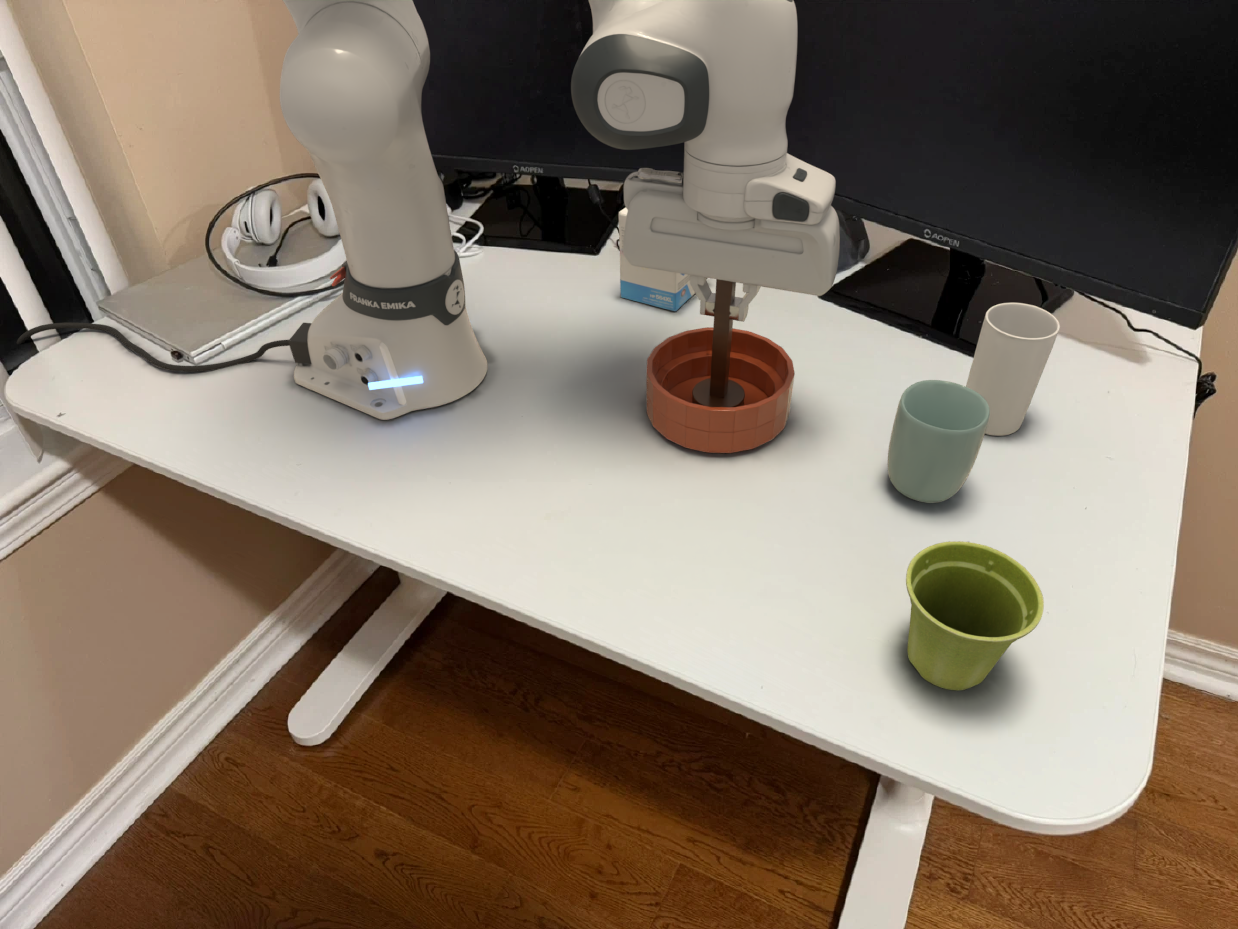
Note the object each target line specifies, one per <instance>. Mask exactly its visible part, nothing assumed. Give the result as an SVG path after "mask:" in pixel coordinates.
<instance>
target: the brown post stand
mask: <svg viewBox="0 0 1238 929" xmlns="http://www.w3.org/2000/svg"><path fill="white" fill-rule="evenodd" d="M736 286H737V283H736V282H730V281H724V280H718V279H715V292H714V293H715V310H714V317H713V343H712V360H711V377H710V378H708V379H705V380H702V381H700V382H699V383H697V384H696V385H695V386H694V388H693V391H692V403H693V404H698V405H703V406H708V407H739V406H744V399H745V392H744V389H743V388H742V386H741V385H739V384H738V383H737V382H735V381H733V380H730V379H729V366H730V353H731V340H732V328H733V325H734V320H731V319H729V315H730V305H731V303H732V302H733V300H734V298H735V297H736V288H737V287H736Z"/></svg>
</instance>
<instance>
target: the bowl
mask: <svg viewBox="0 0 1238 929" xmlns="http://www.w3.org/2000/svg"><path fill="white" fill-rule="evenodd" d="M713 327H714V326H713ZM713 327H711V326H709V327H707V326H706V327H699V328H694V329H690V330H684V331H681V332H679V333H676V334H674V335H671V336H669V337H667V338H666V339H664V340H663V341H661V342H660V343H659V344H657V345H655V347H653V349H652V351H651V353H650V354H649V356H648V357H647V358H646V372H645V373H646V374H645V375H646V377H645V378H646V382H645V383H646V415H647V417H648V419H649V421H650V423H651V425H652V427H653V428H654V429H655V430H656V431H657V432H658V433H660V434H661V436H663V437H664V438H665V439H666V440H669V441H671V442H673V443H675V444H677V445H679V446H681V447H683V448H686V449H689V450H693V451H699V452H703V453H708V454H709V453H714V454H725V453H726V454H732V453H733V454H734V453H739V452H744V451H748V450H749V451H750V450H753V449H756V448H758V447H760V446H762V445H764V444H766V443H769V442H772V441H773V440H774V439H775V438H776V437H777V436H778V435H779V434H780V433H781V432H782V431H783V430H784V429H785V427H786V424H787V422H788V419H789V417H790V412H791V405H792V397H793V388H794V381H795V375H796V374H795V367H794V362H793V359H792V358H791V357H790V356H789V354H788V353H787V351H786V350H785V349H784V348H783V347H782V346H780V345H779V344H777V343H776V342H775V341H773V340H772V339H770V338H768V337H766V336H763V335H760V334H758V333H755V332H753V331H749V330H743V329H740V328H739V329H738V328H732V340H731V353H730V366H729V379H730V380H733V381H735V382H737V383H738V384H739V385H741V386H742V388H743V389H744V392H745V399H744V406H739V407H708V406H703V405H698V404H693V403H692V391H693V388H694V386H695V385H696V384H697V383H699V382H700V381H702V380H705V379H708V378H710V377H711V360H712V343H713Z"/></svg>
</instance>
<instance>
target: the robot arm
mask: <svg viewBox="0 0 1238 929" xmlns="http://www.w3.org/2000/svg"><path fill="white" fill-rule="evenodd" d="M282 2H283V3H284V5H285V7H286V9H287V11H288V12H289V15H290V16H291V18H292V20H293V22H294V24H295V27H296V32H297V36H296V37H295V38H294V39H293V40H292V42H291V43H290V45H289V46H288V48H287V50H286V52H285V55H284V58H283V62H282V65H281V66H282V67H281V73H280V80H279V104H280V110H281V114H282V116H283V119H284V121H285V124H286V125H287V127H288V129H289V131H290V133H291V134H292V135H293V137H294V138H295V139H296V140H297V141H298V143H299V144H300V145H301V146H302V147H303V148H304V149H305V150H306V151H307V153H308V156H309V158H310V160H311V162H312V164H313V166H314V168H315V170H316V172H317V174H318V176H319V178H320V180H321V182H322V185H323V187H324V189H325V191H326V194H327V196H328V199H329V202H330V204H331V207H332V210H333V214H334V218H335V221H336V225H337V229H338V233H339V236H340V240H341V244H342V248H343V251H344V255H345V259H346V260H345V261H344V262H343V263H342V264H341V268H339V269H338V270H337V271H336V272H334V273H333V274H332V275H331V276H330V277H329V280H333V279H334V280H333V281H332V282H331V286H332V287H336V286H337V285H338V284H339V283H341V282H342V281H343V288H342V293H340V294H339V295H338V296H337V297H336V298H334V299H333V300H332V301H331V302H330V303H329V304H328V305H327V306H326V307H325V308H323V309H322V310H321V311H320V312H319V313H318V314H317V315H316V316H315V318H314V319H313V321H312V322H302V323H301V325H300V326H299V327H298V328H297V329H296V331H294V333H293V334H292V335H291V336H290V338H289V339H280V340H274V341H270V342H267V343H265V344H262V345H261V346H260V347H259V349H257V351H256V352H254V353H251V354H249V355H246V356H245V355H244V356H242V357H239V358H236V359H231V360H227V361H223V362H218V363H211V364H202V365H200V364H199V365H181V364H172V363H168V362H167V363H166V362H164V361H161V360H159V359H157V358H156V357H154V356H153V355H151V354H150V353H149V352H148V351H146V350H145V349H143V348H142V347H140V346H138V345H137V344H135V343H133V342H132V341H130V340H129V339H128V338H127V337H126V336H125V335H123V333H122V332H120V331H119V330H118V329H116V328H114V327H113V326H111V325H110V326H109V325H106V324H100V323H90V322H54V323H47V324H41V325H38V326H34V327H32V328H30V329H28V330H27V331H25V332H24V333H23V334H21V335H20V336H19V337H18V339H17V340H16V344H17V345H21V344H24V343H25V342H26V341H27V340H28V339H30V338H31V337H32V336H34V335H36V334H39V333H41V332H45V331H50V330H59V329H86V330H98V331H104V332H107V333H110V334H112V335H114V336H115V338H117V339H118V340H119V341H120V342H121V343H122V344H123V345H124V346H126V347H127V348H128V349H130V350H132V351H133V352H135V353H137V354H138V355H140V356H141V357H143V358H144V360H146V361H148V362H149V363H150V364H152V365H154V366H155V367H158V368H160V369H163V370H167V371H172V372H186V373H187V372H189V373H191V372H193V373H194V372H195V373H196V372H197V373H198V372H208V371H215V370H220V369H226V368H228V367H229V368H230V367H232V366H233V367H234V366H238V365H242V364H246V363H250V362H251V361H256V360H258V359H260V358H261V357H263V356H264V354H265V353H266V352H267V351H268V350H271V349H275V348H279V347H289V348H290V352H291V354H292V357H293V360H294V363H295V364H296V365H295V368H294V370H293V379H294V383H295V384H296V385H298V386H301V387H303V388H306V389H308V390H310V391H313V392H315V393H318V394H320V395H322V396H325V397H327V398H329V399H331V400H334V401H336V402H339V403H341V404H343V405H345V406H348V407H350V408H352V409H354V410H358V411H360V412H362V413H365V414H366V415H369V416H371V417H374V418H376V419H377V420H378V419H379V420H382V421H386V420H387V421H388V420H393V419H396V418H398V417H401V416H403V415H405V414H408V413H410V412H414V411H419V410H424V409H430V408H431V409H432V408H437V407H440V406H443V405H446V404H450V403H453V402H455V401H457V400H459V399H461V398H463V397H465V396H466V395H468V394H469V393H471V392H472V391H474V390H475V389H476V388H477V387H478V386H479V385H480V384H481V383H482V382H483V380H484V379H485V378H486V374H487V372H488V360H487V357H486V355H485V354H484V352H483V350H482V347H481V345H480V343H479V342H478V339H477V337H476V334H475V332H474V329H473V326H472V323H471V320H470V317H469V313H468V311H467V306H466V288H465V282H464V276H463V270H462V265H461V260H460V255H459V253H458V252H457V251H456V250H455V249H454V248H455V247H454V241H453V235H452V231H451V224H450V219H449V213H448V206H447V201H446V200H447V199H446V195H445V189H444V184H443V181H442V179H441V178H440V177H439V174H438V172H437V169H436V166H435V162H434V159H433V156H432V152H431V149H430V146H429V142H428V138H427V134H426V131H425V126H424V122H423V114H422V96H423V94H422V93H423V88H424V85H425V82H426V81H427V77H428V75H429V70H430V64H431V50H430V44H429V38H428V35H427V31H426V28H425V26H424V22H423V20H422V19H421V17H420V15H419V12H418V11H417V10H418V9H417V8H416V6H415V4H414V0H282ZM588 3H589V6H590V9H591V10H590V11H591V17H592V35H591V36H590V37H589V39H588V40H587V42H586V44H585V46H584V47H583V49H582V51H581V53H580V55H579V56H578V59H577V61H576V63H575V65H574V68H573V71H572V75H571V79H570V80H571V82H570V93H571V94H570V95H571V101H572V105H573V108H574V110H575V114H576V115H577V118H578V119H579V121H580V122H581V124H582V125H583V127H584V128H585V129H586V131H587V132H588V133H589V134H590V135H591V136H592V137H593V138H595V139H596V140H597V141H599V142H600V143H602V144H604V145H606V146H609V147H611V148H614V149H618V150H625V151H631V150H644V149H653V148H661V147H667V146H674V145H679V144H683V143H684V145H683V146H684V149H683V172H682V171H672V170H655V169H653V168H649V167H640V168H639V169H638V171H633V172H631V173H629V175H627V176H626V178H625V180H624V183H623V202H624V206H625V208H627V210H628V212H627V217H626V223H625V231H624V243H623V254H624V256H625V258H626V259H627V260H628V262H629V263H630V264H631V265H633V266H638V267H645V268H651V269H657V270H663V271H669V272H675V273H681V274H688V275H690V285H691V286H692V288H693V290H694V292H695V295H696V297H697V299H698V300H699V301H700V305H699V315H702V316H706V317H707V316H708V317H713V318H714V310H715V293H716V292H713V291H712V289H711V287H710V285H709V283H708V281H707V280H708V279H713V280H716V279H718V280H724V281H730V282H736V284H742V292H743V293H745V294H744V295H743V297H740V296H735V298H734V300H733V302H732V303H731V305H730V315H729V319H731V320H733V321H737V322H741V323H742V322H744V323H745V321H746V320H747V316H748V314H749V305H750V304H751V303H752V301H753V300H754V299H755V298H756V296H757V295H758V294H759V291H760V289H761V288H767V289H773V290H778V291H779V290H780V291H785V292H792V293H799V294H805V295H810V296H815V297H821V296H824V295H825V294H826V293H827V292H828V291H830V289H831V288H832V287H833V286H834V283H835V280H836V277H837V273H838V267H839V258H840V243H841V242H840V240H841V239H840V236H841V235H840V231H841V229H840V220H839V216H838V213H837V211H836V209H835V208H834V207H833V206H832V204H833V201H834V197H835V194H836V187H837V186H836V184H837V181H836V177H835V176H834V175H833V174H831V173H829V172H827V171H826V170H823V169H821V168H819V167H816V166H815V165H812V164H810V163H807V162H805V161H804V160H802V159H799V158H797V157H796V156H793V155H792V154H789V153H788V143H789V141H788V134H787V127H786V124H787V123H786V121H787V115H788V111H789V108H790V106H791V104H792V101H793V98H794V91H795V83H796V82H795V81H796V71H797V58H798V56H797V55H798V33H799V32H798V13H797V7H796V3H795V1H794V0H588Z"/></svg>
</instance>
